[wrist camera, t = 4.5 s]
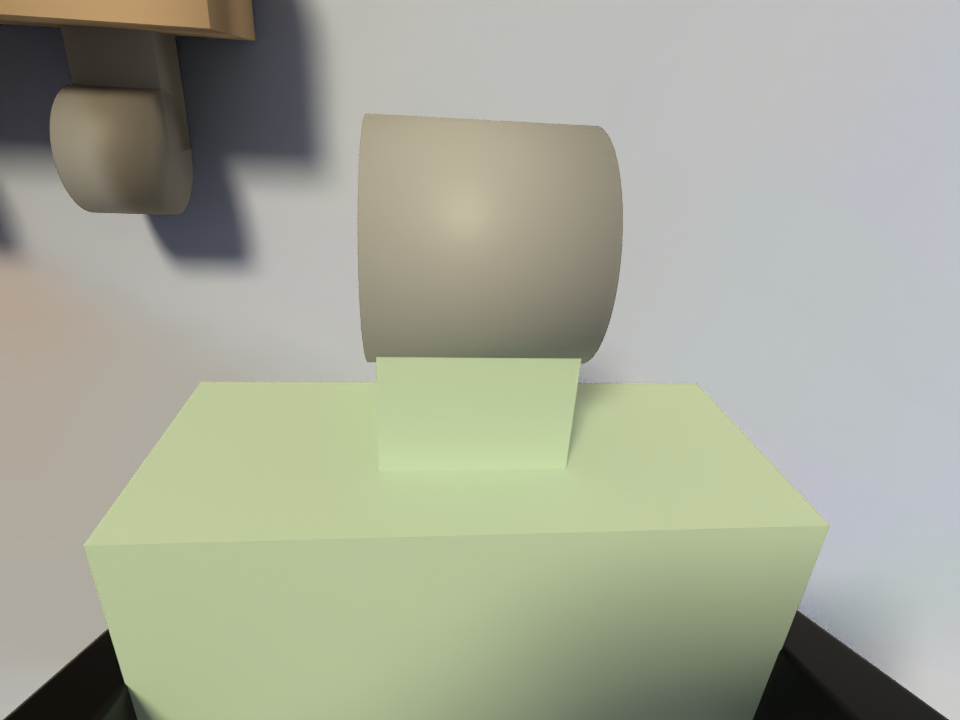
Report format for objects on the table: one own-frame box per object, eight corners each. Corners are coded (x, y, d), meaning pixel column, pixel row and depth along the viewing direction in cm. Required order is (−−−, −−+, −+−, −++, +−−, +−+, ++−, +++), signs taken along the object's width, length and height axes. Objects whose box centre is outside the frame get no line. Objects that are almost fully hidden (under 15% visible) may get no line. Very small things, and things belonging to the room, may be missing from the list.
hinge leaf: (757, 129, 7) (974, 159, 4) (637, 630, 10) (714, 819, 8) (153, 96, 6) (-49, 106, 3) (244, 648, 10) (180, 865, 7)
